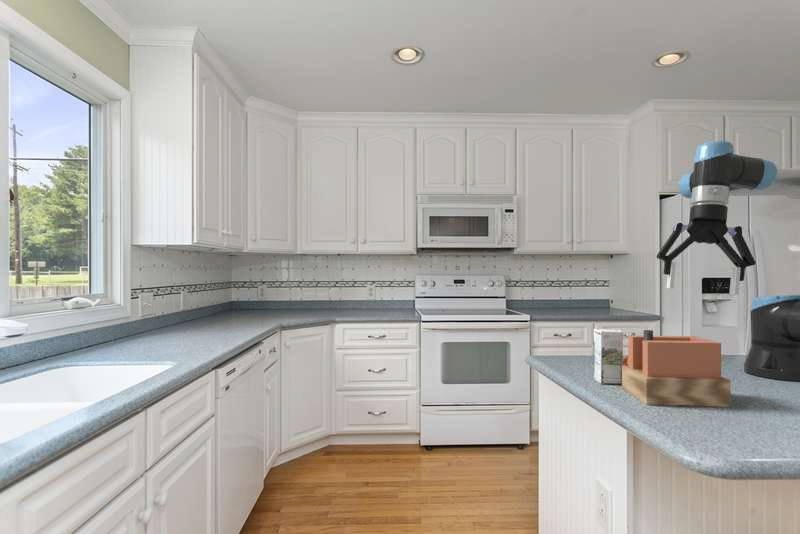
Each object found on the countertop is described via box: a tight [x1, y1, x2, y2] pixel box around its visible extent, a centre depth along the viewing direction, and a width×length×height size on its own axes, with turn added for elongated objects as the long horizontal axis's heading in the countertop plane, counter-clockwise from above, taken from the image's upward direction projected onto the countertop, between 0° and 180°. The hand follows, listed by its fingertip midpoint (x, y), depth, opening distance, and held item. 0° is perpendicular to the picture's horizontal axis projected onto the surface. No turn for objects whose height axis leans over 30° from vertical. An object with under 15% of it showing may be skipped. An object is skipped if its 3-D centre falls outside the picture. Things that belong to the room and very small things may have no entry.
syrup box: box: [593, 327, 624, 385], centre depth 116 cm, size 6×6×14 cm
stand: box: [621, 329, 732, 408], centre depth 103 cm, size 18×13×16 cm
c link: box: [627, 335, 722, 378], centre depth 103 cm, size 16×10×8 cm, turn 85°
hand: (701, 291), depth 105 cm, fingers open, 13 cm apart
